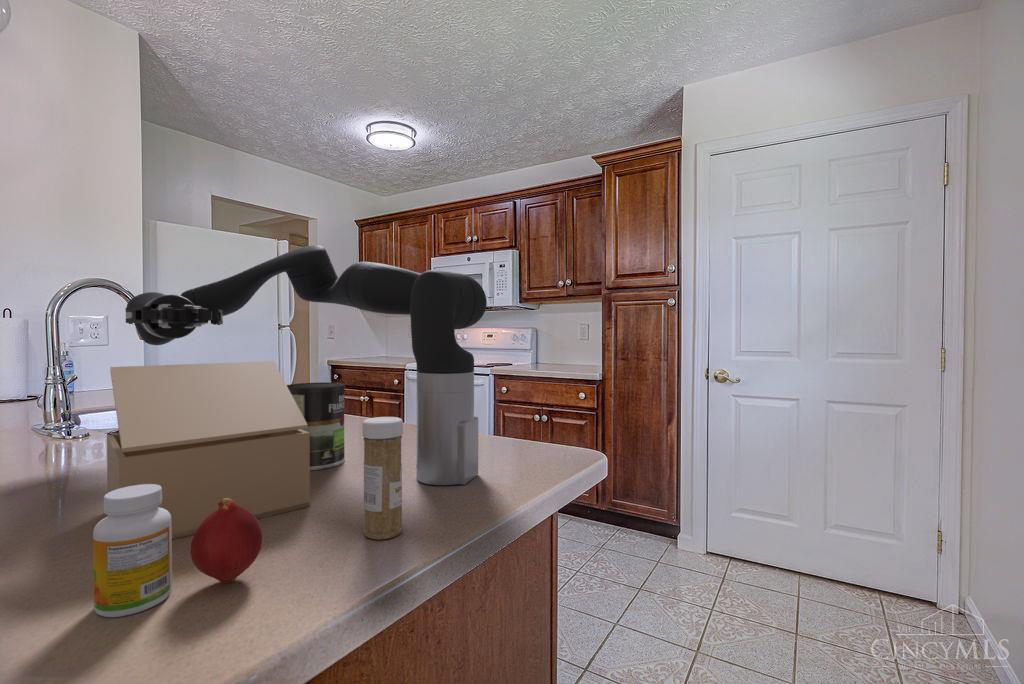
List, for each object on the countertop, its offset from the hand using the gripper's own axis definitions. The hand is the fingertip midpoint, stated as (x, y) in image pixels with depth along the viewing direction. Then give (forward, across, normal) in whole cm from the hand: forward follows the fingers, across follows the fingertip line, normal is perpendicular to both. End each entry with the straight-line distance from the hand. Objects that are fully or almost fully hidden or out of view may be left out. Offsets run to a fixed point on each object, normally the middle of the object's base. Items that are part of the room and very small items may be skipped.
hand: (188, 315), depth 73 cm
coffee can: (0, +19, +26) cm, 32 cm away
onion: (+36, -3, +26) cm, 45 cm away
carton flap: (+14, 0, +11) cm, 18 cm away
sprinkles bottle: (+36, +13, +26) cm, 46 cm away
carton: (+13, 0, +26) cm, 29 cm away
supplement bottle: (+34, -10, +26) cm, 44 cm away
